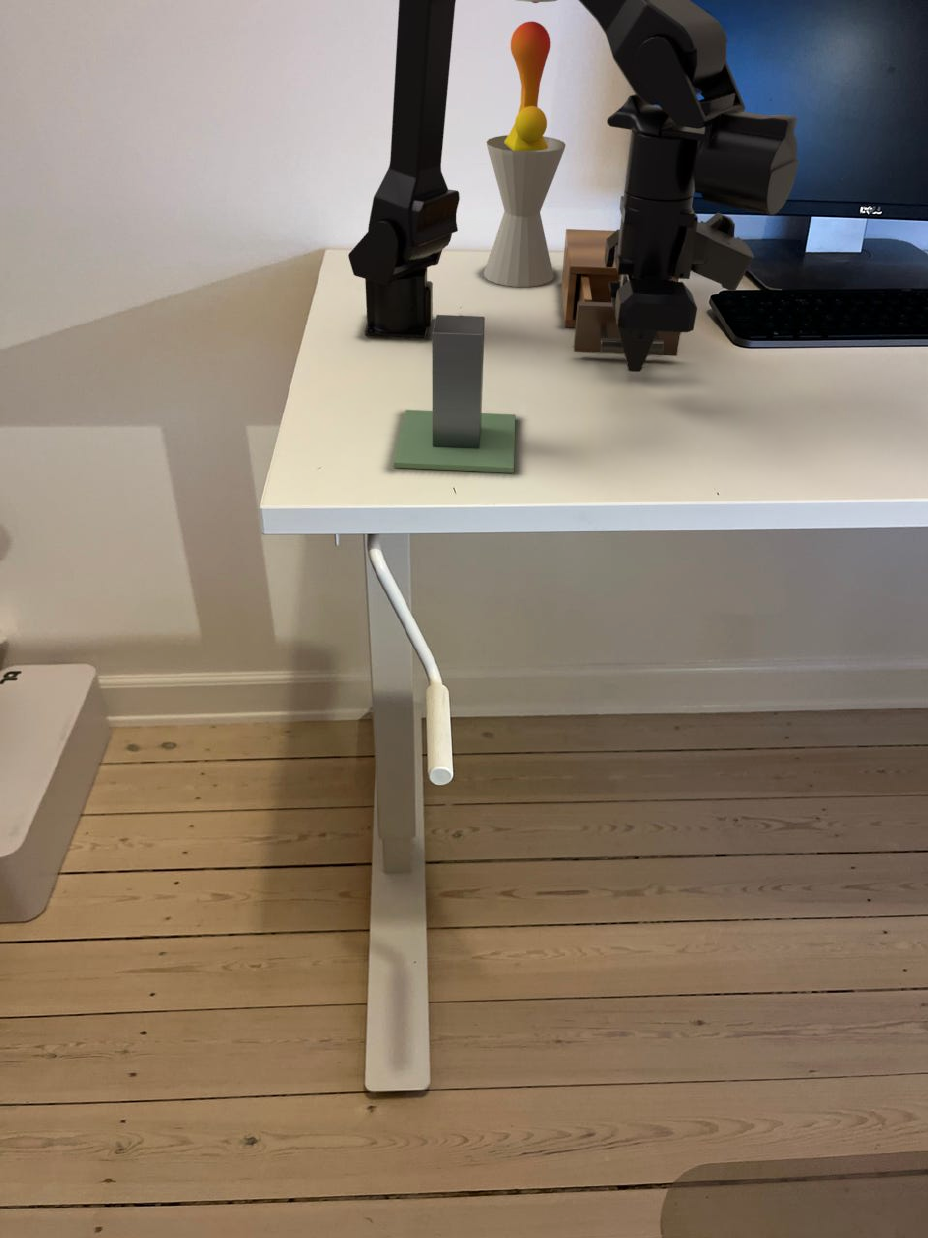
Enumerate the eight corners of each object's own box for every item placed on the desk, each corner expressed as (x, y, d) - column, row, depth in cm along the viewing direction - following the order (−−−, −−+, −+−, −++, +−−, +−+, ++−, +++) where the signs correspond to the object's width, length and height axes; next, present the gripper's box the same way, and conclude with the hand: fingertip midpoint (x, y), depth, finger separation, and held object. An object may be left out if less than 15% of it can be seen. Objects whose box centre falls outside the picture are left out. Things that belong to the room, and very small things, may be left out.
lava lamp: (474, 265, 121) (483, -76, 100) (542, 261, 123) (565, -75, 102) (493, 289, 114) (507, -72, 93) (565, 284, 116) (595, -71, 95)
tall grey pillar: (432, 446, 82) (432, 332, 76) (436, 425, 85) (436, 314, 79) (479, 448, 82) (483, 334, 75) (481, 427, 85) (484, 316, 79)
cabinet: (670, 330, 105) (680, 269, 101) (564, 326, 105) (569, 265, 101) (657, 288, 116) (665, 232, 112) (561, 285, 116) (566, 228, 112)
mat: (393, 467, 80) (393, 462, 79) (405, 414, 88) (405, 409, 87) (513, 473, 79) (514, 467, 79) (515, 419, 87) (515, 414, 87)
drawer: (682, 374, 94) (690, 326, 91) (575, 370, 94) (580, 322, 91) (663, 311, 107) (669, 268, 104) (569, 308, 107) (573, 264, 104)
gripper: (779, 228, 72) (738, 419, 82) (737, 168, 87) (706, 335, 96) (630, 222, 72) (607, 413, 82) (614, 163, 87) (595, 331, 97)
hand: (634, 370), depth 89 cm, fingers closed
